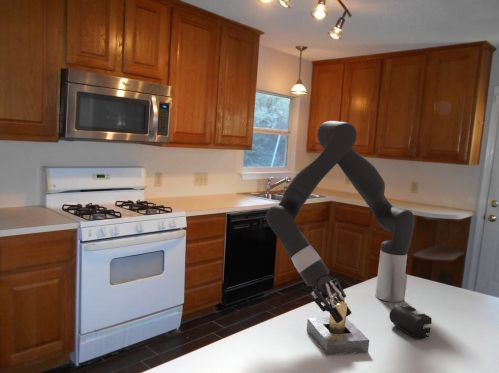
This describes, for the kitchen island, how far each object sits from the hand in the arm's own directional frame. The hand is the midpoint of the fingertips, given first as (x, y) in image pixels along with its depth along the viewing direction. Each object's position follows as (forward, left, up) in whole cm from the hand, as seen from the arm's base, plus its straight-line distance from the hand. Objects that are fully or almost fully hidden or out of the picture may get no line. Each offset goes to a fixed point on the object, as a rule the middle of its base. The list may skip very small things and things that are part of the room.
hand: (344, 318), depth 112 cm
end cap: (-24, -4, -8) cm, 25 cm away
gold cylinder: (+1, -2, -7) cm, 8 cm away
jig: (+1, -1, -7) cm, 7 cm away
